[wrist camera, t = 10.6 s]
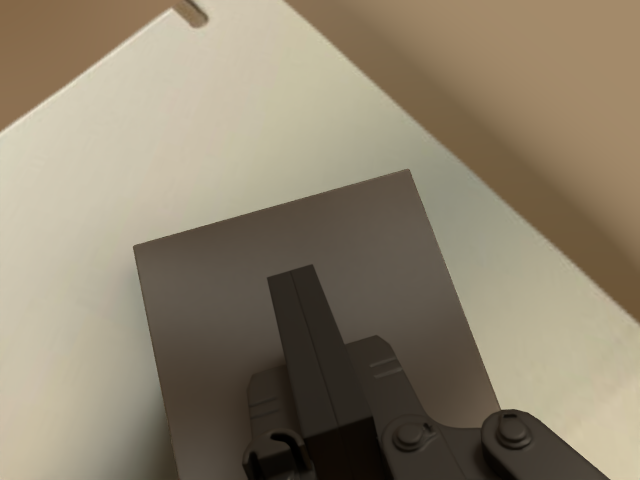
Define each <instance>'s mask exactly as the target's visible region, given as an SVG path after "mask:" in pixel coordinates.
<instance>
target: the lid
mask: <svg viewBox="0 0 640 480" xmlns="http://www.w3.org/2000/svg"><path fill="white" fill-rule="evenodd" d="M133 250H134V255H135V260H136V265H137V270H138V275H139V280H140V285H141V290H142V295H143V300H144V305H145V310H146V315H147V320H148V326H149V331H150V336H151V341H152V346H153V351H154V356H155V361H156V366H157V371H158V376H159V381H160V386H161V391H162V396H163V401H164V406H165V412H166V417H167V422H168V427H169V432H170V437H171V442H172V447H173V452H174V457H175V462H176V467H177V472H178V477H179V480H248V478H247V476H246V473H245V471H244V469H243V466H242V458H243V453H244V451H245V449H246V448H247V446H248V444H249V443H250V442H251V441H252V435H251V426H250V418H249V409H248V408H249V407H248V400H247V392H246V390H247V387H248V384H249V382H250V379H251V377H252V374H255V373H259V372H262V371H265V370H268V369H272V368H275V367H278V366H281V365H285V364H286V361H285V357H284V352H283V348H282V343H281V339H280V335H279V330H278V326H277V321H276V317H275V312H274V308H273V304H272V299H271V295H270V290H269V286H268V281H267V277H270V276H273V275H277V274H280V273H283V272H287V271H290V270H293V269H297V268H300V267H304V266H307V265H310V264H313V266H314V268H315V271H316V274H317V276H318V279H319V281H320V284H321V286H322V289H323V291H324V294H325V296H326V299H327V301H328V304H329V306H330V309H331V311H332V314H333V316H334V319H335V321H336V324H337V326H338V329H339V331H340V334H341V336H342V339H343V342H344V344H348V343H351V342H355V341H358V340H361V339H364V338H367V337H371V336H374V335H378V336H379V337H381V338H382V339H384V340H385V341H386V342H388V343H389V344H390V345H391V347H392V349H393V351H394V353H395V355H396V356H397V359H398V360H399V362H400V364H401V366H402V368H403V371H404V372H405V374H406V376H407V378H408V379H409V381H410V383H411V385H412V387H413V389H414V391H415V393H416V395H417V397H418V399H419V401H420V403H421V404H422V406H423V408H424V410H425V411H426V413H427V414H428V416H430V417H431V418H432V419H433V420H435V421H436V422H438V423H440V424H442V425H445V426H449V427H455V428H477V427H482V424H483V421H484V420H485V419H486V418H487V417H488V416H489V415H491V414H492V413H495V412H498V411H500V410H501V408H500V406H499V403H498V400H497V398H496V395H495V393H494V390H493V387H492V385H491V382H490V379H489V377H488V374H487V372H486V369H485V366H484V364H483V361H482V359H481V356H480V353H479V351H478V348H477V345H476V343H475V340H474V338H473V335H472V332H471V330H470V327H469V324H468V322H467V319H466V317H465V314H464V311H463V309H462V306H461V303H460V301H459V298H458V296H457V293H456V290H455V288H454V285H453V283H452V280H451V277H450V275H449V272H448V269H447V267H446V264H445V262H444V259H443V256H442V254H441V251H440V248H439V246H438V243H437V241H436V238H435V235H434V233H433V230H432V227H431V225H430V222H429V220H428V217H427V214H426V212H425V209H424V207H423V204H422V201H421V199H420V196H419V193H418V191H417V188H416V186H415V183H414V180H413V178H412V175H411V172H410V170H409V169H405V170H402V171H398V172H395V173H391V174H387V175H384V176H380V177H377V178H373V179H370V180H366V181H362V182H359V183H355V184H352V185H348V186H345V187H341V188H337V189H334V190H330V191H327V192H323V193H320V194H316V195H312V196H309V197H305V198H302V199H298V200H295V201H291V202H287V203H284V204H280V205H277V206H273V207H270V208H266V209H262V210H259V211H255V212H252V213H248V214H245V215H241V216H237V217H234V218H230V219H227V220H223V221H220V222H216V223H212V224H209V225H205V226H202V227H198V228H195V229H191V230H187V231H184V232H180V233H177V234H173V235H170V236H166V237H162V238H159V239H155V240H152V241H148V242H145V243H141V244H137V245H134V246H133Z"/></svg>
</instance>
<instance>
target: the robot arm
mask: <svg viewBox="0 0 640 480" xmlns="http://www.w3.org/2000/svg"><path fill="white" fill-rule="evenodd" d="M267 281H268V286H269V290H270V295H271V299H272V304H273V308H274V312H275V317H276V321H277V326H278V330H279V335H280V339H281V343H282V348H283V352H284V357H285V361H286V364H285V365H281V366H278V367H275V368H272V369H268V370H265V371H262V372H259V373H255V374H252V377H251V379H250V382H249V384H248V387H247V390H246V392H247V400H248V407H249V408H248V409H249V418H250V426H251V435H252V441H251V442H250V443H249V444H248V446H247V448H246V449H245V451H244V453H243V458H242V466H243V469H244V471H245V473H246V476H247V478H248V480H610V479H609V478H608V477H606V476H605V475H604V474H603V473H602V472H601V471H599V470H598V469H597V468H596V467H595V466H593V465H592V464H591V463H590V462H589V461H587V460H586V459H585V458H584V457H583V456H581V455H580V454H579V453H578V452H577V451H576V450H574V449H573V448H572V447H571V446H570V445H568V444H567V443H566V442H565V441H564V440H562V439H561V438H560V437H559V436H558V435H556V434H555V433H554V432H553V431H552V430H551V429H549V428H548V427H547V426H546V425H545V424H543V423H542V422H541V421H540V420H539V419H537V418H535V417H534V416H532V415H530V414H529V413H527V412H523V411H519V410H515V409H510V410H500V411H498V412H495V413H492V414H491V415H489V416H488V417H487V418H486V419H485V420H484V421H483V424H482V427H477V428H455V427H449V426H445V425H442V424H440V423H438V422H436V421H435V420H433V419H432V418H431V417H430V416H428V414H427V413H426V411H425V410H424V408H423V406H422V404H421V403H420V401H419V399H418V397H417V395H416V393H415V391H414V389H413V387H412V385H411V383H410V381H409V379H408V378H407V376H406V374H405V372H404V371H403V368H402V366H401V364H400V362H399V360H398V359H397V356H396V355H395V353H394V351H393V349H392V347H391V345H390V344H389V343H388V342H386V341H385V340H384V339H382V338H381V337H379V336H378V335H374V336H371V337H367V338H364V339H361V340H358V341H355V342H351V343H348V344H344V342H343V339H342V336H341V334H340V331H339V329H338V326H337V324H336V321H335V319H334V316H333V314H332V311H331V309H330V306H329V304H328V301H327V299H326V296H325V294H324V291H323V289H322V286H321V284H320V281H319V279H318V276H317V274H316V271H315V268H314V266H313V264H310V265H307V266H304V267H300V268H297V269H293V270H290V271H287V272H283V273H280V274H277V275H273V276H270V277H267Z"/></svg>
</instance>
